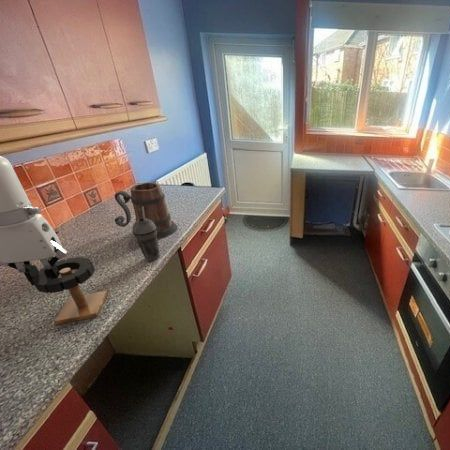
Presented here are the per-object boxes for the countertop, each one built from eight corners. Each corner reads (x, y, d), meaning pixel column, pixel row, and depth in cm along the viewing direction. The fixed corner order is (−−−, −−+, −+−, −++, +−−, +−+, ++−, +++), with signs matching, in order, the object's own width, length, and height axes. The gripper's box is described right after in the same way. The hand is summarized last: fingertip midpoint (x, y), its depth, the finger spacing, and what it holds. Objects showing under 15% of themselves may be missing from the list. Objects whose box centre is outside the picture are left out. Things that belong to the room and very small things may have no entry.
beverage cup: (139, 256, 91) (123, 206, 82) (160, 249, 95) (148, 201, 86) (143, 266, 86) (127, 214, 77) (166, 258, 90) (153, 208, 81)
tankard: (182, 221, 117) (174, 179, 107) (170, 239, 102) (159, 193, 93) (129, 221, 114) (116, 179, 105) (108, 241, 99) (90, 193, 90)
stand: (55, 324, 64) (32, 285, 58) (71, 300, 71) (51, 262, 65) (97, 316, 67) (79, 278, 60) (108, 293, 74) (92, 257, 68)
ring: (26, 297, 57) (21, 289, 56) (50, 268, 67) (46, 260, 66) (85, 287, 61) (81, 279, 60) (100, 261, 70) (97, 254, 69)
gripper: (64, 204, 60) (90, 266, 68) (-28, 211, 54) (13, 276, 63) (48, 218, 53) (79, 283, 62) (-58, 226, 48) (-7, 297, 57)
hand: (46, 279), depth 62 cm, fingers closed on ring, 2 cm apart
